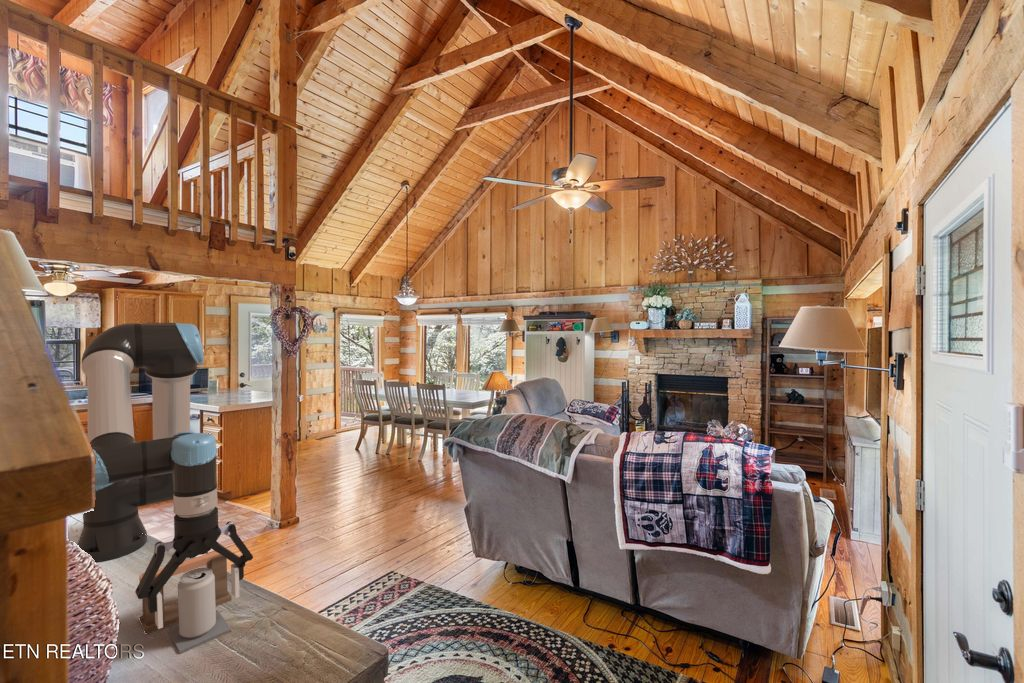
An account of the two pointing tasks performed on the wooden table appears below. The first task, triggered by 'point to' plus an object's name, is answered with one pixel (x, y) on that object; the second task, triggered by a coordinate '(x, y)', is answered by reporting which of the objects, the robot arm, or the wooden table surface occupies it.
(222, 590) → the walnut stand
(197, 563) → the crossbar
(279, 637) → the wooden table surface
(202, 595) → the beverage can
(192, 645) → the rubber mat
